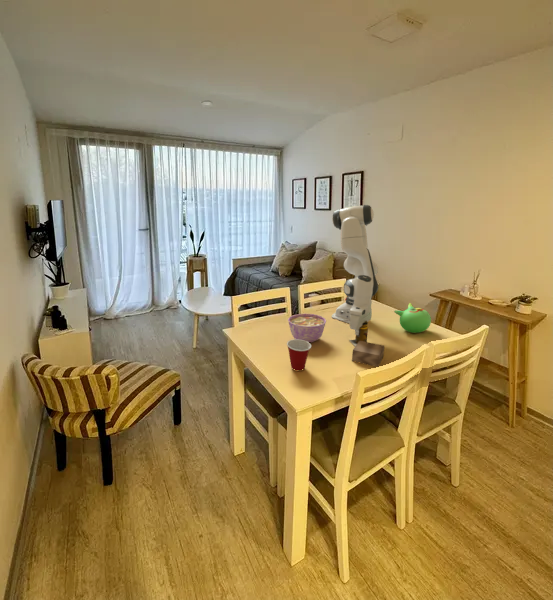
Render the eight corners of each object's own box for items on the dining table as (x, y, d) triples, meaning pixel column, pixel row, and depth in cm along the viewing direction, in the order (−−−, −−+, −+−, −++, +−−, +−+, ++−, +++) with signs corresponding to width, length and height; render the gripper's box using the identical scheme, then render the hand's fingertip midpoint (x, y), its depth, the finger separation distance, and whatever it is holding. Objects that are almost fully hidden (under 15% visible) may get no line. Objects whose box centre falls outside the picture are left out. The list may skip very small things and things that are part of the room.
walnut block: (351, 361, 157) (352, 349, 155) (358, 351, 167) (359, 340, 165) (377, 367, 151) (379, 355, 150) (383, 356, 161) (384, 345, 160)
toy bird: (418, 339, 181) (422, 314, 176) (390, 330, 193) (393, 306, 189) (434, 331, 192) (438, 307, 187) (407, 323, 204) (410, 300, 200)
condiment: (369, 344, 174) (371, 323, 170) (354, 346, 172) (356, 324, 169) (363, 339, 180) (365, 318, 177) (348, 340, 179) (350, 319, 175)
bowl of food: (282, 344, 174) (283, 323, 171) (294, 330, 192) (294, 311, 189) (320, 350, 168) (321, 328, 164) (328, 335, 186) (329, 316, 182)
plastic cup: (306, 376, 143) (307, 350, 139) (282, 371, 147) (283, 346, 143) (313, 365, 152) (314, 341, 149) (291, 361, 156) (291, 337, 153)
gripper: (364, 301, 181) (362, 325, 185) (348, 311, 165) (346, 337, 169) (375, 303, 177) (373, 327, 181) (360, 313, 162) (358, 340, 166)
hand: (360, 332), depth 175 cm, fingers closed on condiment, 6 cm apart
